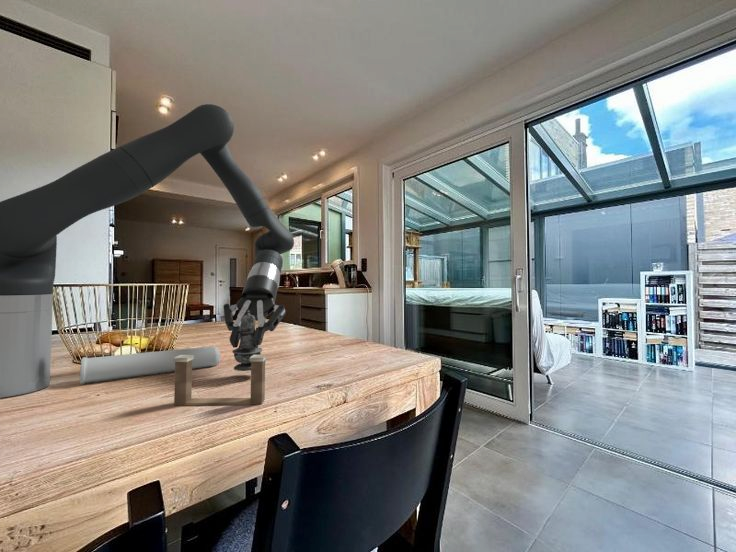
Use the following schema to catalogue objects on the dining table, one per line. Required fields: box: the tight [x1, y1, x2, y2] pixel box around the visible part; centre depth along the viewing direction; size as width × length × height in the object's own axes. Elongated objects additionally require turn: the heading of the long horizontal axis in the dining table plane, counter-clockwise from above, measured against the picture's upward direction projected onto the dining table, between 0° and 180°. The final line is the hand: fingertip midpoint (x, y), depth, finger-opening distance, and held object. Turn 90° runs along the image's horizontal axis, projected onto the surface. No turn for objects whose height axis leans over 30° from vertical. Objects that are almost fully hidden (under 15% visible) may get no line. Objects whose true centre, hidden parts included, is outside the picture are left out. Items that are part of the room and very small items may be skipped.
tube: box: [79, 345, 221, 385], centre depth 69 cm, size 5×5×25 cm
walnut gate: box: [173, 354, 268, 406], centre depth 52 cm, size 14×2×8 cm, turn 93°
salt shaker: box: [231, 310, 263, 372], centre depth 66 cm, size 6×6×12 cm
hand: (244, 345), depth 64 cm, fingers closed on salt shaker, 3 cm apart
